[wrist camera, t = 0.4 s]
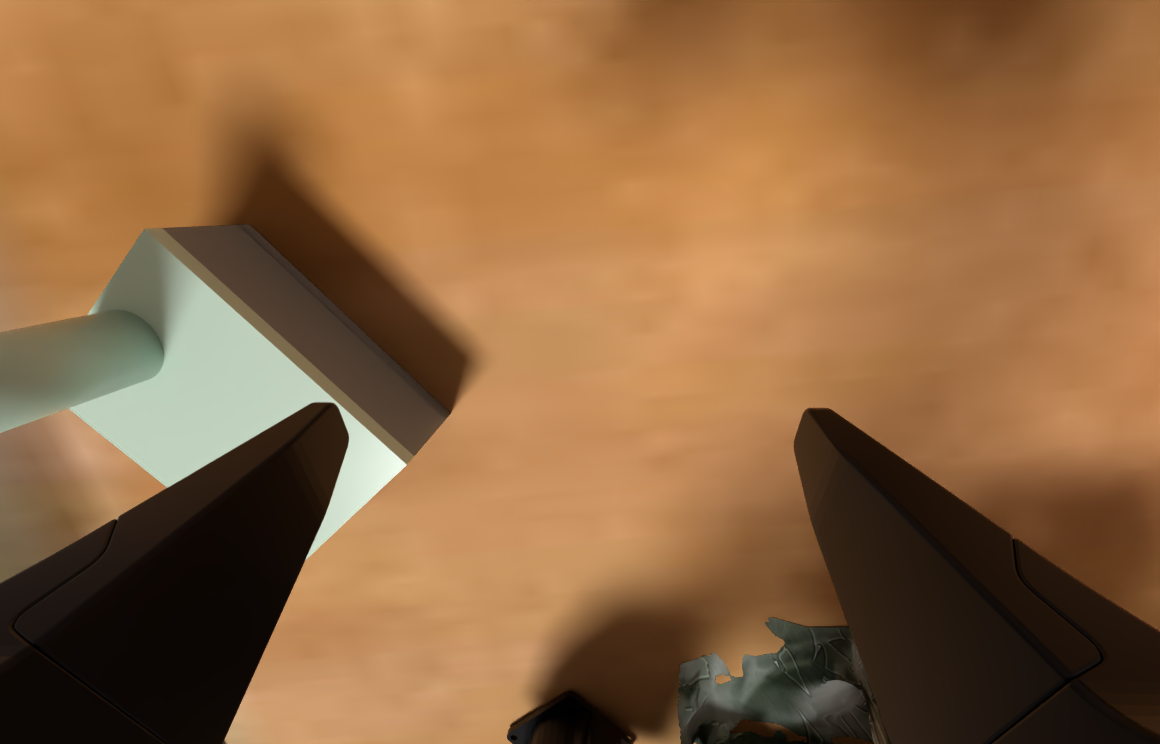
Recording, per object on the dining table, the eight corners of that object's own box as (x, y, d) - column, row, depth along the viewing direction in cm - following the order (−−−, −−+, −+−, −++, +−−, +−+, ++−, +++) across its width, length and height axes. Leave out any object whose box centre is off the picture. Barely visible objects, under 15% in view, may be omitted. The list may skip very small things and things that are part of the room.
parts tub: (345, 513, 30) (293, 569, 26) (155, 351, 28) (59, 380, 23) (450, 413, 28) (414, 456, 23) (249, 224, 25) (162, 227, 20)
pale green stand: (298, 564, 26) (133, 743, 17) (68, 377, 24) (-256, 476, 15) (417, 452, 23) (291, 598, 15) (170, 227, 21) (-157, 241, 12)
